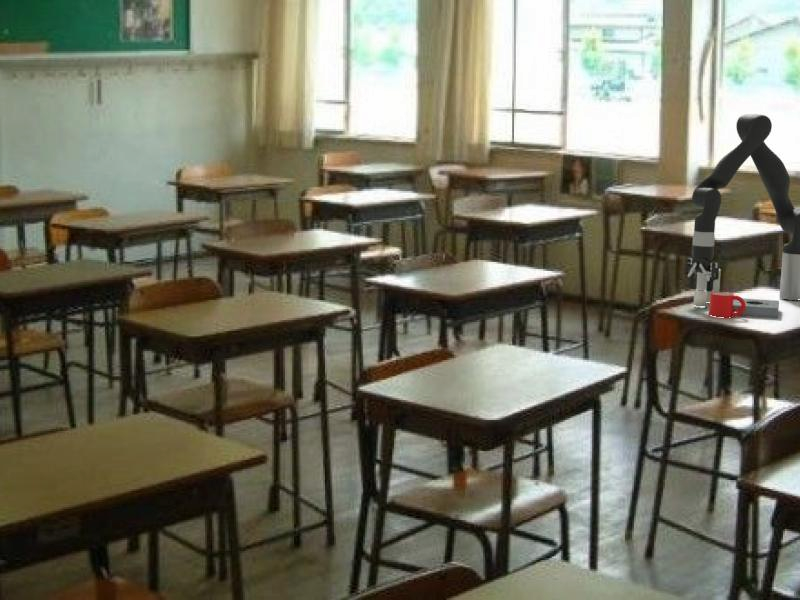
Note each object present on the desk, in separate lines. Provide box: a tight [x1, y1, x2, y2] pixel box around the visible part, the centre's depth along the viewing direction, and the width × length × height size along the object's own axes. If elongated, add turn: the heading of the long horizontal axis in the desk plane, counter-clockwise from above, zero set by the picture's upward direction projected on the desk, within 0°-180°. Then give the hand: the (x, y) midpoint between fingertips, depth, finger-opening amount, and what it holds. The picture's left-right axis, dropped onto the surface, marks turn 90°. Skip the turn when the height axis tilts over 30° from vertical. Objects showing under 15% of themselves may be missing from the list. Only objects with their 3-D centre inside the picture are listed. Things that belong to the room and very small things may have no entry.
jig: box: [733, 297, 780, 319], centre depth 455 cm, size 16×16×4 cm
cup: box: [695, 268, 722, 302], centre depth 475 cm, size 8×8×12 cm
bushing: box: [693, 289, 707, 307], centre depth 464 cm, size 4×4×6 cm
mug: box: [708, 291, 746, 319], centre depth 447 cm, size 8×12×8 cm, turn 73°
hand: (700, 289), depth 463 cm, fingers open, 8 cm apart
